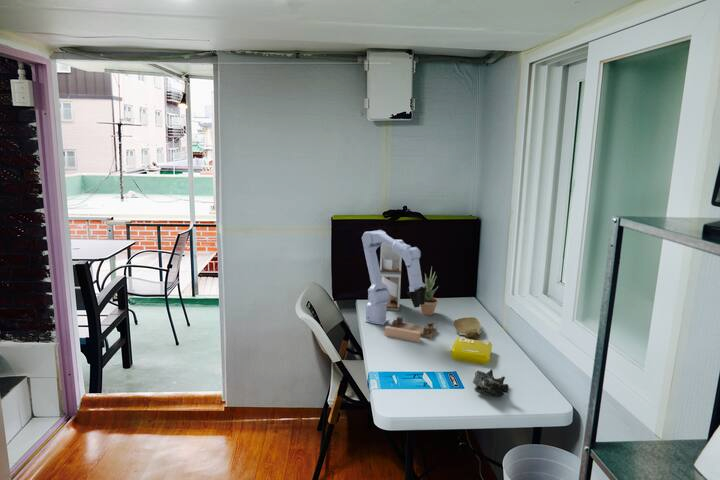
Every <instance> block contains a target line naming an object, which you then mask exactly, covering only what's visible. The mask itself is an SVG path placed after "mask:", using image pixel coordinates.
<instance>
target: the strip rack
mask: <svg viewBox="0 0 720 480" xmlns="http://www.w3.org/2000/svg"><path fill="white" fill-rule="evenodd" d="M390 326H391V327H396V328H402V329H407V330H413V331H418V332H421V338H427V339H431V338H432V337H433V336H434V335H435V333H436V332H437V327H434V321H431V320H429V321H428V322H427V325H420V324H413V323H410V322H409V323H408V322H404V316H400V315H398V316H397V317H396V319H394V320H393V321H392V322H391V325H390Z"/></svg>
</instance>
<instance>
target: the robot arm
mask: <svg viewBox="0 0 720 480" xmlns="http://www.w3.org/2000/svg"><path fill="white" fill-rule="evenodd" d="M395 240H396V239H394V238H393V237H391V236H389V235H388V234H387V232H386V231H384V230H382V229H378V230H372V231H364V233H363V234H362V236H361V241H362V246H363V251H364V256H365V260H366V266H367V269H368V274H369V281H370V283H371V285H370V287H369V288H368V289H367V293H368V294H367V296H368V297H367V299H368V301H369V302H367V304H366V307H365V320H364V321H365V322H366V323H370V324H376V325H382V326H384V325H385V324H386V323H387V322H388V321H389V320H390V319H389V318H387V310H386V308H387V303H388V301H389V300H390V297H391V296H390V292H389V290H388V288H387V285H385V284H384V283H383V282H382V276H381V273H380V263H379V260H378V255H377V252H376V251H377V249H378V248H379V247H381V244H382V243H384V244H386V245H388V246H390V247H392V249H393V251H394V252H395V253H397V254H399V255H400V256H402V260H403V261H404V264H405V266H406V270H407V276H408V277H407V278H408V282H409V283H408V284H409V286H408V289H409V291H407V293H406V294H407V295H408V297H409V298H410V299H411V300H410V301H411V302H412V305H413V308H420V307H421V305H422V304H425V293H426V290H427V288H426V287H425V288H424V286H426V285H425V283H424V282H423V277H422V271H421V265H420V258H421V256H422V254H421V253H422V252H421V250H420V249H419V248H418V247H417V246H413V247H412V246H411V244H407V243H405V242H404V240H403V239H399V240H400V241H395ZM423 283H424V284H423Z"/></svg>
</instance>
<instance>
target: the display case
mask: <svg viewBox="0 0 720 480" xmlns="http://www.w3.org/2000/svg"><path fill="white" fill-rule="evenodd" d="M394 240H395V241H400V240H401V239H394ZM379 257H380V259H379V268H380V273H381V278H382V282H383V283H384V284H385V285H387V288H388V290H389V292H390V296H391V297H390V300H389V301H388V303H387V308H386V311H398V312H399V311H400V305H401V304H400V303H401V284H402V283H401V279H402V278H401V277H402V260H403V258H402V256H400V255H399V254H397V253H395V252H394V251H393V249H392V247H390V246H388V245H386V244H384V243H382V244H381V245H380V255H379Z"/></svg>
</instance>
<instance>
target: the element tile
mask: <svg viewBox="0 0 720 480" xmlns="http://www.w3.org/2000/svg"><path fill="white" fill-rule="evenodd" d="M492 348H493V344H492V342H489V341H485V340H479V339H477V340H472V339H466V338H465V337H457V338H455V340H454V343H453V345H452V348H451V355H450V357H451V359H452V360H455V361H458V362H459V361H461V362H465V363H472V364H478V365H483V366H485V365H486V366H487V365H489V364H490V361H491V355H492V350H493V349H492Z"/></svg>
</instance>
